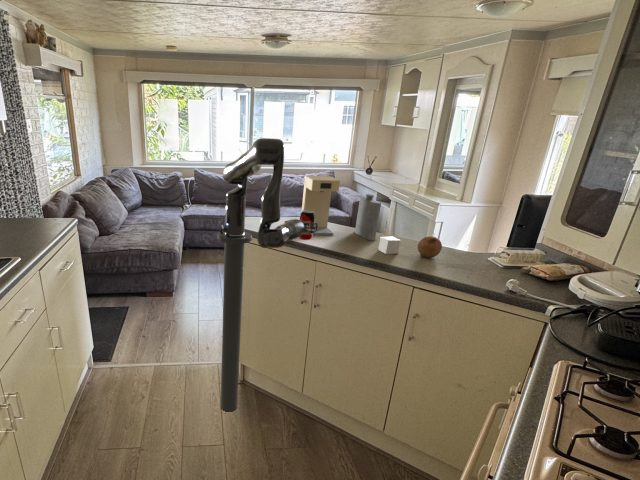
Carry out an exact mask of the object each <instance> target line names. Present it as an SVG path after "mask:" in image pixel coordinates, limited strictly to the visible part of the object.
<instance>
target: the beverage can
mask: <svg viewBox="0 0 640 480" xmlns="http://www.w3.org/2000/svg"><path fill="white" fill-rule="evenodd" d="M299 220H300V221H301V222H304V223H308V222H309V223H314V220H315V215H314V211H312V210H302V209H301V212H300V214H299ZM311 226H312V225H311ZM311 226H310V228H311ZM313 236H314V235H313V233H311V232H310V231H306V232H304V233H303V234H302V235H301V236H300V237H298V238H299V239H300V240H303V241H310V240H311V239H312V238H313Z"/></svg>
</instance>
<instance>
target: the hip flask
mask: <svg viewBox="0 0 640 480" xmlns="http://www.w3.org/2000/svg"><path fill="white" fill-rule="evenodd" d="M374 196H375V195H374V194H370V193H366V194H365V196H360V197H359V202H358V209H357V210H358V211H357V216H356V222H355V229H354V233H355V234H356V235H358V236H359V237H362V238H363V239H365V240H368V241H373V242H374V241H376V237H377V232H378V226H379V225H378V224H379V219H380V214H381V207H382V202H380V201H376V200H374Z"/></svg>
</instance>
